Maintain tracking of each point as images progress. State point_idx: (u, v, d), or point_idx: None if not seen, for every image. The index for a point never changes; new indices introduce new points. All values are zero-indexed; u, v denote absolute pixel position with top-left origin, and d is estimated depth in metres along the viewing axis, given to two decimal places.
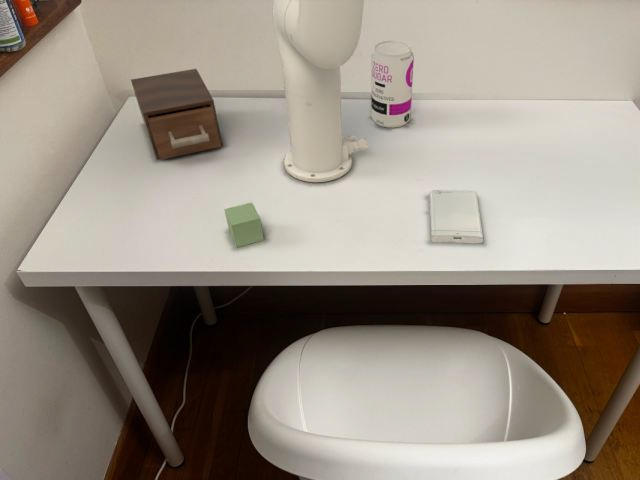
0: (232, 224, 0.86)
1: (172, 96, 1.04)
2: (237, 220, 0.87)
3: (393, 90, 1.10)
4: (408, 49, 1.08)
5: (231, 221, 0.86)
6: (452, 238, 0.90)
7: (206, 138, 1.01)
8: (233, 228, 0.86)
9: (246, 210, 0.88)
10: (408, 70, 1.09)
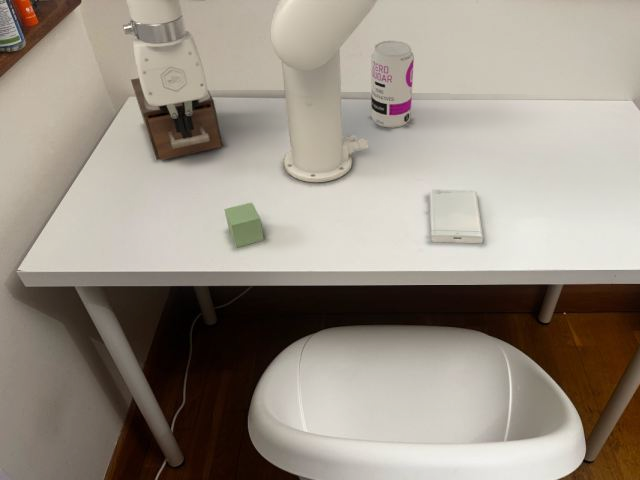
0: (232, 224, 0.86)
1: None
2: (237, 220, 0.87)
3: (393, 90, 1.10)
4: (408, 49, 1.08)
5: (231, 221, 0.86)
6: (452, 238, 0.90)
7: (206, 138, 1.01)
8: (233, 228, 0.86)
9: (246, 210, 0.88)
10: (408, 70, 1.09)
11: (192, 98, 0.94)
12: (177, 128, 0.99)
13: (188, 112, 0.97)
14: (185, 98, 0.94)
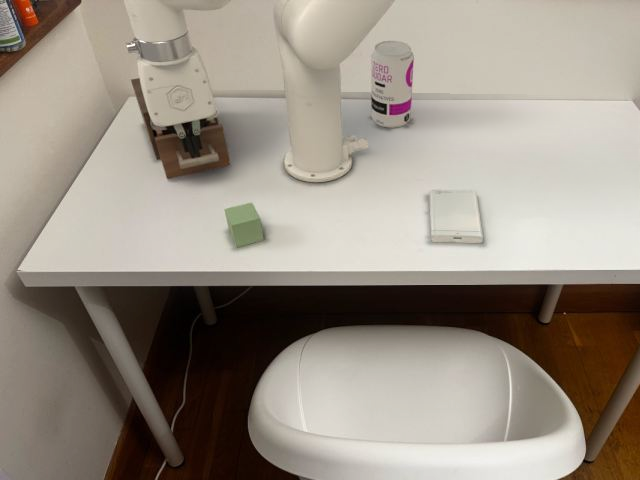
0: (232, 224, 0.86)
1: None
2: (237, 220, 0.87)
3: (393, 90, 1.10)
4: (408, 49, 1.08)
5: (231, 221, 0.86)
6: (452, 238, 0.90)
7: (215, 158, 0.96)
8: (233, 228, 0.86)
9: (246, 210, 0.88)
10: (408, 70, 1.09)
11: (200, 117, 0.90)
12: (185, 148, 0.94)
13: (196, 131, 0.93)
14: (192, 117, 0.89)
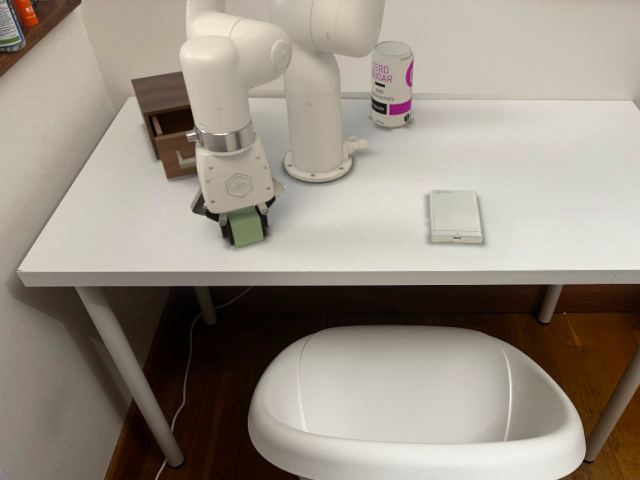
0: (232, 224, 0.86)
1: (172, 96, 1.04)
2: (237, 220, 0.87)
3: (393, 90, 1.10)
4: (408, 49, 1.08)
5: (231, 221, 0.86)
6: (452, 238, 0.90)
7: None
8: (233, 228, 0.86)
9: (246, 210, 0.88)
10: (408, 70, 1.09)
11: (257, 202, 0.84)
12: (224, 234, 0.88)
13: (264, 211, 0.88)
14: (250, 203, 0.84)
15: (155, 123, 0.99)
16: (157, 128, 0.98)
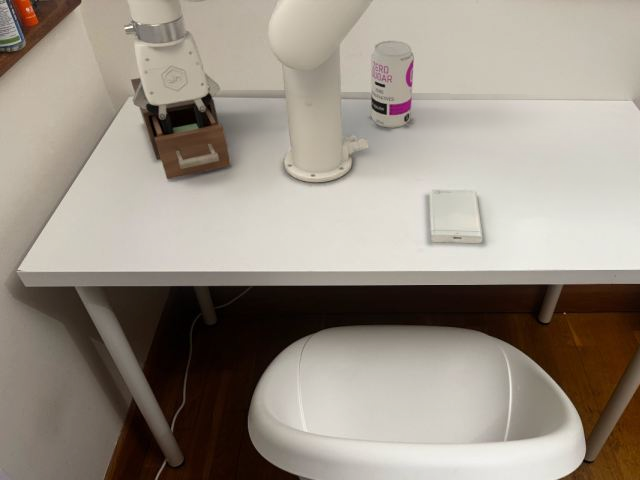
0: None
1: None
2: None
3: (393, 90, 1.10)
4: (408, 49, 1.08)
5: None
6: (452, 238, 0.90)
7: (215, 158, 0.96)
8: None
9: (190, 129, 1.02)
10: (408, 70, 1.09)
11: (193, 97, 0.95)
12: (165, 129, 0.99)
13: (201, 108, 0.99)
14: (186, 97, 0.95)
15: (155, 123, 0.99)
16: (157, 128, 0.98)
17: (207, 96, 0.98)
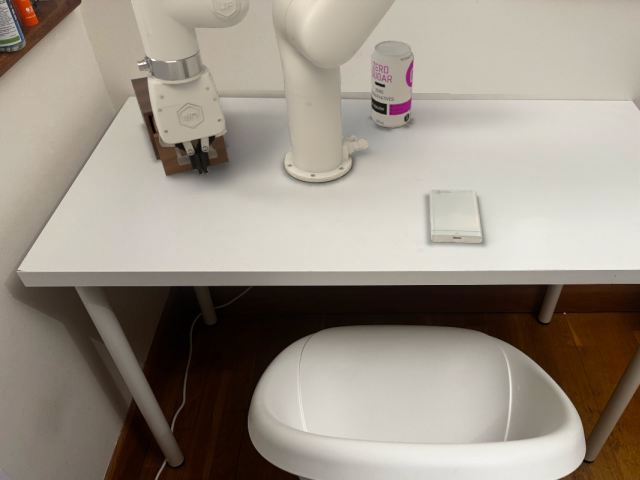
0: None
1: None
2: None
3: (393, 90, 1.10)
4: (408, 49, 1.08)
5: None
6: (451, 238, 0.90)
7: (214, 154, 0.97)
8: None
9: None
10: (408, 70, 1.09)
11: (209, 134, 0.90)
12: (193, 164, 0.94)
13: (204, 148, 0.92)
14: (202, 134, 0.89)
15: (154, 120, 1.00)
16: (156, 125, 0.99)
17: (210, 135, 0.92)
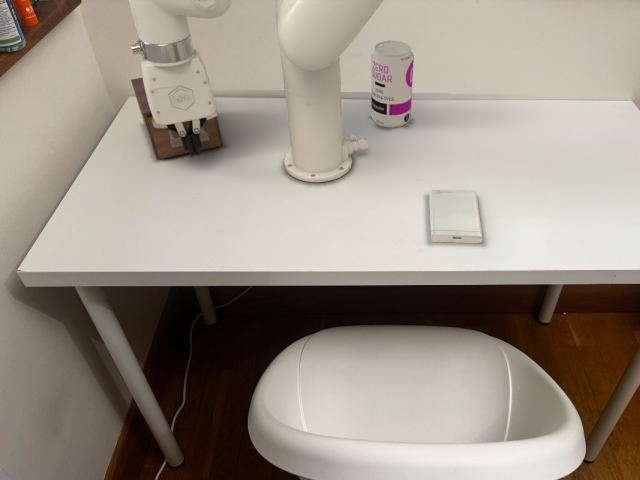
0: None
1: None
2: None
3: (393, 90, 1.10)
4: (408, 49, 1.08)
5: None
6: (451, 238, 0.90)
7: (205, 137, 1.01)
8: None
9: None
10: (408, 70, 1.09)
11: (200, 116, 0.94)
12: (185, 146, 0.98)
13: (196, 130, 0.96)
14: (193, 116, 0.93)
15: None
16: None
17: (201, 118, 0.96)
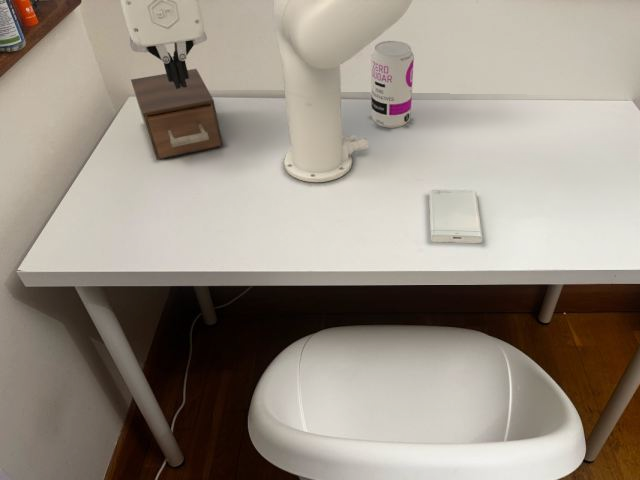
0: None
1: (172, 96, 1.04)
2: None
3: (393, 90, 1.10)
4: (408, 49, 1.08)
5: None
6: (451, 238, 0.90)
7: (205, 137, 1.01)
8: None
9: (182, 110, 1.07)
10: (408, 70, 1.09)
11: (186, 38, 0.80)
12: (169, 76, 0.85)
13: (181, 56, 0.83)
14: (178, 37, 0.80)
15: None
16: None
17: (188, 41, 0.83)
